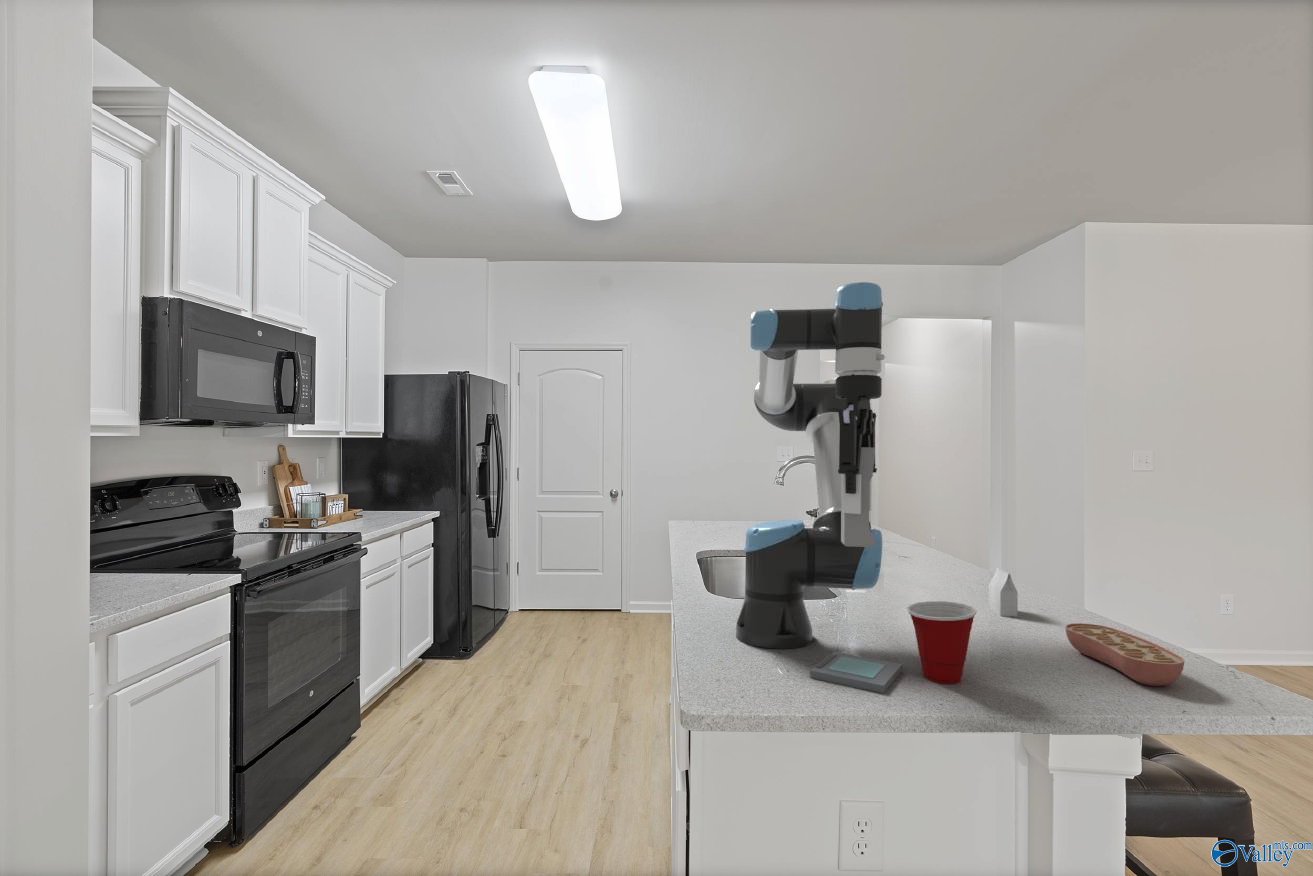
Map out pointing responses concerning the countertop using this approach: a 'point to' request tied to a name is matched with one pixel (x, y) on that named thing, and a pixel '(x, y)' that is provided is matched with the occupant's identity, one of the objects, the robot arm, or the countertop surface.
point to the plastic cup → (942, 638)
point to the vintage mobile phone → (858, 524)
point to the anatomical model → (1126, 653)
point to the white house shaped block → (1003, 594)
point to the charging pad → (857, 671)
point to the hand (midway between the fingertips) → (857, 511)
